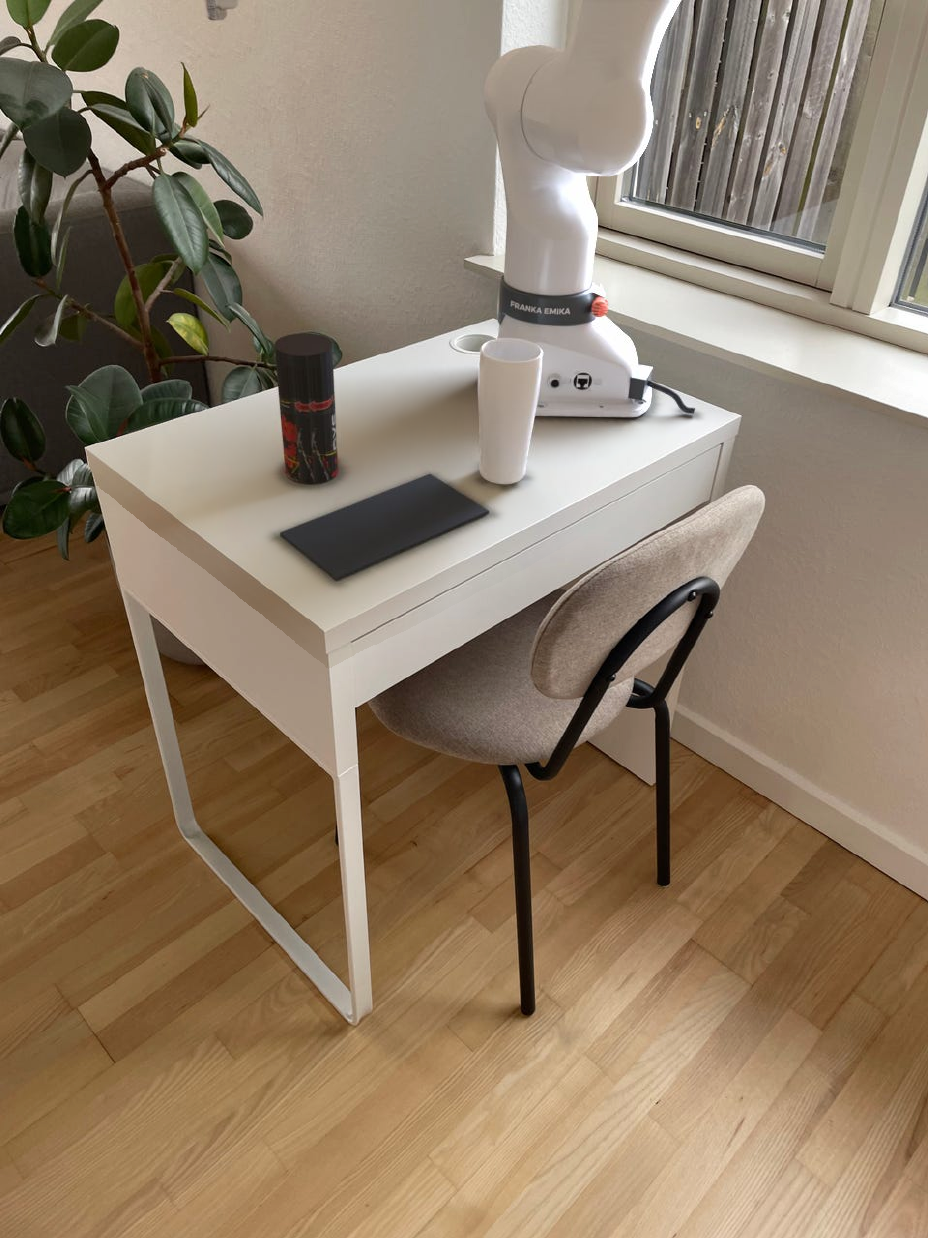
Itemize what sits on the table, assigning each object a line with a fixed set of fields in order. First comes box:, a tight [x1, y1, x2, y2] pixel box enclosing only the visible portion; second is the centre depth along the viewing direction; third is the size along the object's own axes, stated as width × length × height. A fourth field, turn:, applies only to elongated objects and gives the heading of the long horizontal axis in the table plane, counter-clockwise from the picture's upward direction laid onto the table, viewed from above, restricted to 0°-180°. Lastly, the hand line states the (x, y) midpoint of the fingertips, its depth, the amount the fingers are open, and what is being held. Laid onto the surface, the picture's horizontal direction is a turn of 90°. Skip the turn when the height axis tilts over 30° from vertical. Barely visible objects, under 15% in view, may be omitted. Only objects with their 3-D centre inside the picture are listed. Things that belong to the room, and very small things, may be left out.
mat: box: [279, 473, 490, 582], centre depth 98 cm, size 20×10×1 cm, turn 131°
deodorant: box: [273, 332, 339, 485], centre depth 101 cm, size 6×6×15 cm
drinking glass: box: [477, 338, 543, 485], centre depth 103 cm, size 7×7×15 cm
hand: (222, 14), depth 84 cm, fingers open, 8 cm apart
